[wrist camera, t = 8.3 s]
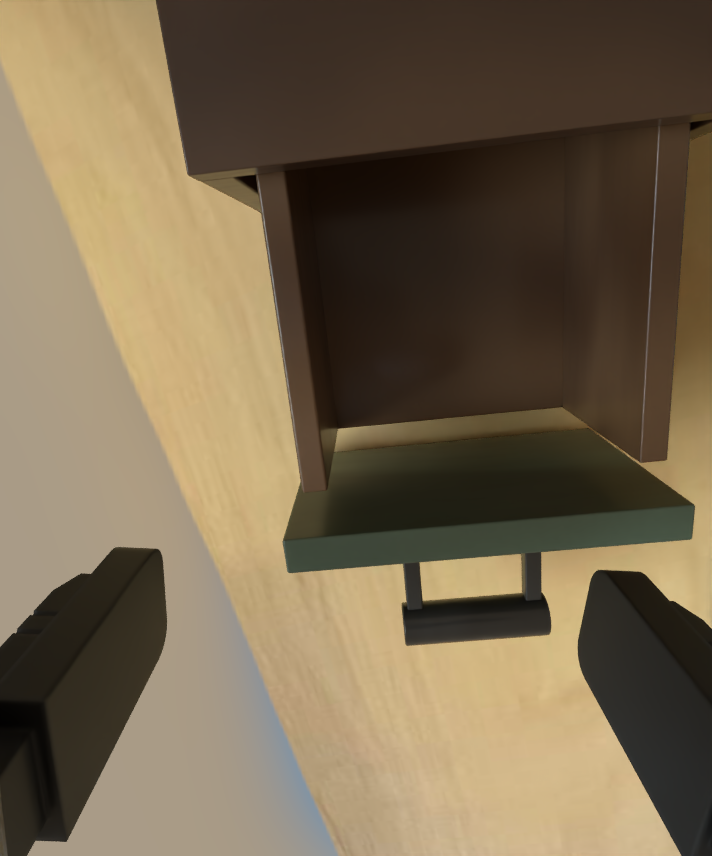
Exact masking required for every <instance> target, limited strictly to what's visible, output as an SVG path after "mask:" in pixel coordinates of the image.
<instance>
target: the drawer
mask: <svg viewBox="0 0 712 856" xmlns="http://www.w3.org/2000/svg"><path fill="white" fill-rule="evenodd" d="M690 127H691V122H687V123H679V124H670V125H662V126H654V127H645V128H637V129H629V130H621V131H612V132H604V133H596V134H587V135H579V136H571V137H562V138H554V139H546V140H538V141H529V142H521V143H513V144H504V145H496V146H488V147H479V148H471V149H463V150H454V151H446V152H438V153H430V154H421V155H413V156H405V157H396V158H388V159H380V160H371V161H363V162H355V163H347V164H338V165H330V166H322V167H313V168H305V169H297V170H288V171H280V172H272V173H263V174H256V181H257V188H258V194H259V201H260V208H261V215H262V221H263V228H264V235H265V242H266V249H267V255H268V262H269V269H270V276H271V282H272V289H273V296H274V303H275V310H276V316H277V323H278V330H279V337H280V343H281V350H282V357H283V364H284V371H285V377H286V384H287V391H288V398H289V405H290V411H291V418H292V425H293V432H294V438H295V445H296V452H297V459H298V466H299V472H300V479H301V482H300V486H299V489H298V492H297V496H296V499H295V502H294V506H293V509H292V512H291V516H290V519H289V522H288V526H287V529H286V532H285V536H284V539H283V547H284V553H285V559H286V565H287V571H288V573H297V572H309V571H321V570H333V569H344V568H356V567H368V566H380V565H392V564H403V568H404V579H405V590H406V601H407V602H405V603H402V614H403V625H404V635H405V644H406V646H412V645H425V644H438V643H451V642H464V641H478V640H491V639H504V638H517V637H530V636H543V635H549V634H550V632H551V617H550V611H549V607H548V604H547V601H546V598H545V596H544V595H543V593H542V592H541V552H547V551H559V550H571V549H583V548H595V547H607V546H619V545H631V544H643V543H655V542H667V541H679V540H690V539H692V534H693V522H694V511H695V506H694V504H693V503H691V502H690V501H689V500H687V499H686V498H684V497H683V496H682V495H680V494H679V493H677V492H676V491H675V490H673V489H672V488H671V487H669V486H668V485H666V484H665V483H664V482H662V481H661V480H659V479H658V478H657V477H655V476H654V475H653V474H651V473H650V472H648V471H647V470H646V469H644V468H643V467H642V466H640V465H639V464H637V463H636V462H635V461H633V460H632V459H630V458H629V457H628V456H626V455H625V454H624V453H622V452H621V451H619V450H618V449H617V448H615V447H614V446H613V445H611V444H610V443H608V442H607V441H606V440H604V439H603V438H601V437H600V436H599V435H597V434H596V433H595V432H593V431H592V430H590V429H588V428H587V429H577V430H566V431H555V432H545V433H534V434H524V435H513V436H502V437H492V438H481V439H471V440H460V441H449V442H439V443H428V444H418V445H407V446H397V447H386V448H375V449H365V450H354V451H344V452H334V448H335V443H336V437H337V431H338V429H340V428H350V427H361V426H371V425H381V424H392V423H402V422H412V421H423V420H433V419H443V418H454V417H464V416H474V415H485V414H495V413H506V412H516V411H526V410H537V409H547V408H557V407H563V408H565V409H566V410H567V411H569V412H570V413H572V414H573V415H574V416H576V417H577V418H579V419H580V420H581V421H583V422H584V423H586V424H587V425H588V426H590V427H591V428H593V429H594V430H595V431H597V432H598V433H600V434H601V435H602V436H604V437H605V438H607V439H608V440H609V441H611V442H612V443H614V444H615V445H616V446H618V447H619V448H621V449H622V450H624V451H625V452H626V453H628V454H629V455H631V456H632V457H633V458H635V459H636V460H638V461H639V462H641V463H642V462H653V461H664V460H667V451H668V437H669V423H670V409H671V395H672V380H673V366H674V352H675V338H676V324H677V310H678V296H679V282H680V268H681V254H682V239H683V225H684V211H685V197H686V183H687V169H688V155H689V141H690ZM512 554H521V561H522V593H517V594H504V595H492V596H479V597H467V598H454V599H442V600H429V601H422V589H421V577H420V564H419V562H428V561H440V560H452V559H464V558H476V557H488V556H500V555H512Z"/></svg>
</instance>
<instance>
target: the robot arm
mask: <svg viewBox="0 0 712 856" xmlns="http://www.w3.org/2000/svg"><path fill="white" fill-rule="evenodd" d="M166 630H167V614H166V600H165V586H164V570H163V560H162V555H161V552H160V551H159V550H158V549H148V548H126V547H116V548H114V549H113V550H112V551H111V552H110V553H109V554H108V555H107V556H106V558H105V559H104V560H103V561H102V562H101V563H100V564H99V566H98V567H97V568H96V569H95V570H94V571H93V573H92V574H80V575H78V576H76V577H75V578H73V579H71V580H70V581H68V582H66V583H65V584H63V585H61V586H60V587H58V588H56V589H55V590H53V591H52V592H51V593H50V594H49V595H48V596H47V598H46V599H45V600H44V601H43V602H42V603H41V604H40V605H39V606H38V607H37V608H36V609H35V610H34V614H33V615H30V616H29V617H28V618H27V619H26V620H25V621H24V622H23V624H21V626H20V627H19V628H18V629H17V633H16V634H15V633H13V634H12V635H11V636H10V637H9V638H8V639H7V640H6V641H5V642H4V644H3V645H2V646H1V647H0V856H27V855H28V853H29V851H30V849H31V847H32V845H33V844H34V842H35V841H60V842H66V841H67V840H68V838H69V836H70V834H71V832H72V830H73V828H74V826H75V824H76V822H77V820H78V818H79V816H80V814H81V812H82V810H83V808H84V806H85V804H86V802H87V800H88V798H89V796H90V794H91V792H92V790H93V788H94V786H95V784H96V782H97V780H98V778H99V776H100V774H101V772H102V770H103V769H104V767H105V764H106V762H107V761H108V758H109V756H110V754H111V753H112V751H113V749H114V747H115V744H116V743H117V741H118V739H119V737H120V735H121V733H122V731H123V729H124V727H125V725H126V723H127V721H128V719H129V717H130V715H131V713H132V711H133V709H134V707H135V705H136V703H137V701H138V699H139V697H140V695H141V693H142V691H143V689H144V687H145V685H146V683H147V681H148V679H149V677H150V675H151V673H152V671H153V670H154V667H155V665H156V664H157V662H158V660H159V657H160V655H161V653H162V650H163V646H164V642H165V637H166ZM578 657H579V663H580V667H581V671H582V673H583V676H584V678H585V680H586V681H587V683H588V685H589V687H590V689H591V691H592V692H593V694H594V696H595V698H596V700H597V702H598V703H599V705H600V707H601V709H602V711H603V713H604V714H605V716H606V718H607V720H608V722H609V724H610V725H611V727H612V729H613V731H614V733H615V735H616V736H617V738H618V740H619V742H620V744H621V746H622V747H623V749H624V751H625V753H626V755H627V757H628V758H629V760H630V762H631V764H632V766H633V768H634V769H635V771H636V773H637V775H638V777H639V779H640V780H641V782H642V784H643V786H644V788H645V790H646V791H647V793H648V795H649V797H650V799H651V800H652V802H653V804H654V806H655V808H656V810H657V811H658V813H659V815H660V817H661V819H662V821H663V822H664V824H665V826H666V828H667V830H668V832H669V833H670V835H671V837H672V839H673V841H674V843H675V844H676V846H677V848H678V850H679V852H680V854H681V855H682V856H712V629H711V628H710V627H709V626H708V625H707V624H706V623H705V622H704V621H703V620H702V619H700V618H699V617H697V616H696V615H694V614H693V613H691V612H690V611H688V610H687V609H685V608H683V607H682V606H680V605H679V604H677V603H676V602H674V601H669V600H668V599H667V598H666V597H665V596H664V594H663V593H662V592H661V591H660V590H659V589H658V588H657V587H656V586H655V585H654V584H653V583H652V581H651V580H650V579H649V578H648V577H647V576H646V575H645V574H643V573H642V572H633V571H611V570H598V571H596V572H595V573H594V574H593V576H592V578H591V582H590V586H589V591H588V596H587V600H586V605H585V610H584V615H583V620H582V624H581V629H580V634H579V639H578Z"/></svg>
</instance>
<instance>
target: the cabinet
mask: <svg viewBox="0 0 712 856" xmlns="http://www.w3.org/2000/svg"><path fill="white" fill-rule="evenodd" d="M156 4H157V9H158V15H159V20H160V26H161V31H162V37H163V42H164V48H165V53H166V59H167V64H168V70H169V75H170V81H171V86H172V92H173V97H174V103H175V108H176V114H177V119H178V125H179V130H180V136H181V141H182V147H183V152H184V158H185V163H186V169H187V174H188V175H189V176H190V177H192V178H194V179H196V180H198V181H201V182H203V183H205V184H207V185H209V186H211V187H213V188H215V189H217V190H218V191H220V192H222V193H224V194H226V195H228V196H230V197H232V198H234V199H236V200H238V201H240V202H242V203H244V204H245V205H247V206H249V207H251V208H253V209H255V210H257V211H259V212H260V213H261V208H260V201H259V194H258V188H257V181H256V174H263V173H272V172H280V171H288V170H297V169H305V168H313V167H322V166H330V165H338V164H347V163H355V162H363V161H371V160H380V159H388V158H396V157H405V156H413V155H421V154H430V153H438V152H446V151H454V150H463V149H471V148H479V147H488V146H496V145H504V144H513V143H521V142H529V141H538V140H546V139H554V138H562V137H571V136H579V135H587V134H596V133H604V132H612V131H621V130H629V129H637V128H645V127H654V126H662V125H670V124H679V123H687V122H691V127H690V140H692V139H695V138H697V137H700V136H702V135H705V134H707V133H710V132H712V0H156Z"/></svg>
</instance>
